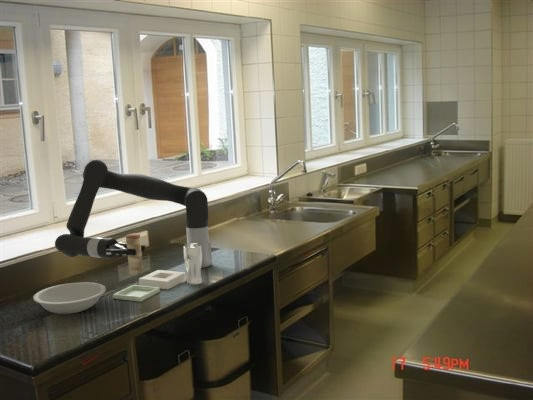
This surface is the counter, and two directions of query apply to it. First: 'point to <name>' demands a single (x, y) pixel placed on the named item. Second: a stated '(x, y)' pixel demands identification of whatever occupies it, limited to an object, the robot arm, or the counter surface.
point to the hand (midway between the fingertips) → (140, 250)
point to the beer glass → (193, 263)
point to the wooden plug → (136, 260)
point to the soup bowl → (69, 297)
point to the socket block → (163, 279)
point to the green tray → (136, 293)
